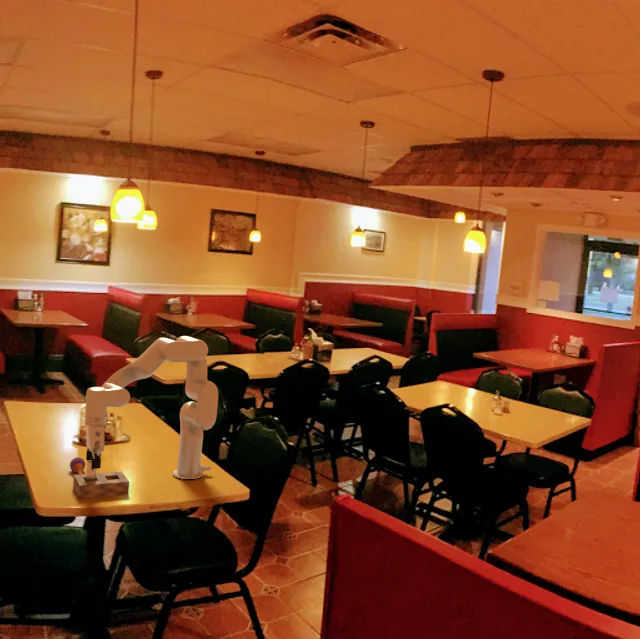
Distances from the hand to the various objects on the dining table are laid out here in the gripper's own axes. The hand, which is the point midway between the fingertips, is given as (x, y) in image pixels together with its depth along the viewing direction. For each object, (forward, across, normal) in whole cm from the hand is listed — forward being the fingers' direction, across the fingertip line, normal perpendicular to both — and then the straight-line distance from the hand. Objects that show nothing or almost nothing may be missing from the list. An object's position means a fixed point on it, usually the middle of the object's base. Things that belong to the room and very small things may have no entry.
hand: (93, 464), depth 245 cm
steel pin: (+9, 0, +1) cm, 9 cm away
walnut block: (+11, 0, -3) cm, 11 cm away
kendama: (+11, +17, +1) cm, 20 cm away
